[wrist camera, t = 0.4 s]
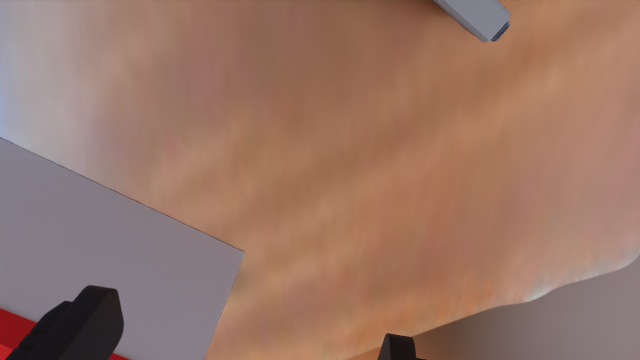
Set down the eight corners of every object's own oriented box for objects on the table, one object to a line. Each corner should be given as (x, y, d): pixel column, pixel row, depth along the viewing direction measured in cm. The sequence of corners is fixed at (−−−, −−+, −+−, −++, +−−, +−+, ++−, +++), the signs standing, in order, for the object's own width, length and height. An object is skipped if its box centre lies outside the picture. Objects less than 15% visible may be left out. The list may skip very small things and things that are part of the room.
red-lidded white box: (193, 344, 58) (118, 518, 40) (-50, 243, 52) (-268, 394, 34) (248, 253, 48) (181, 429, 30) (-43, 116, 42) (-344, 233, 24)
